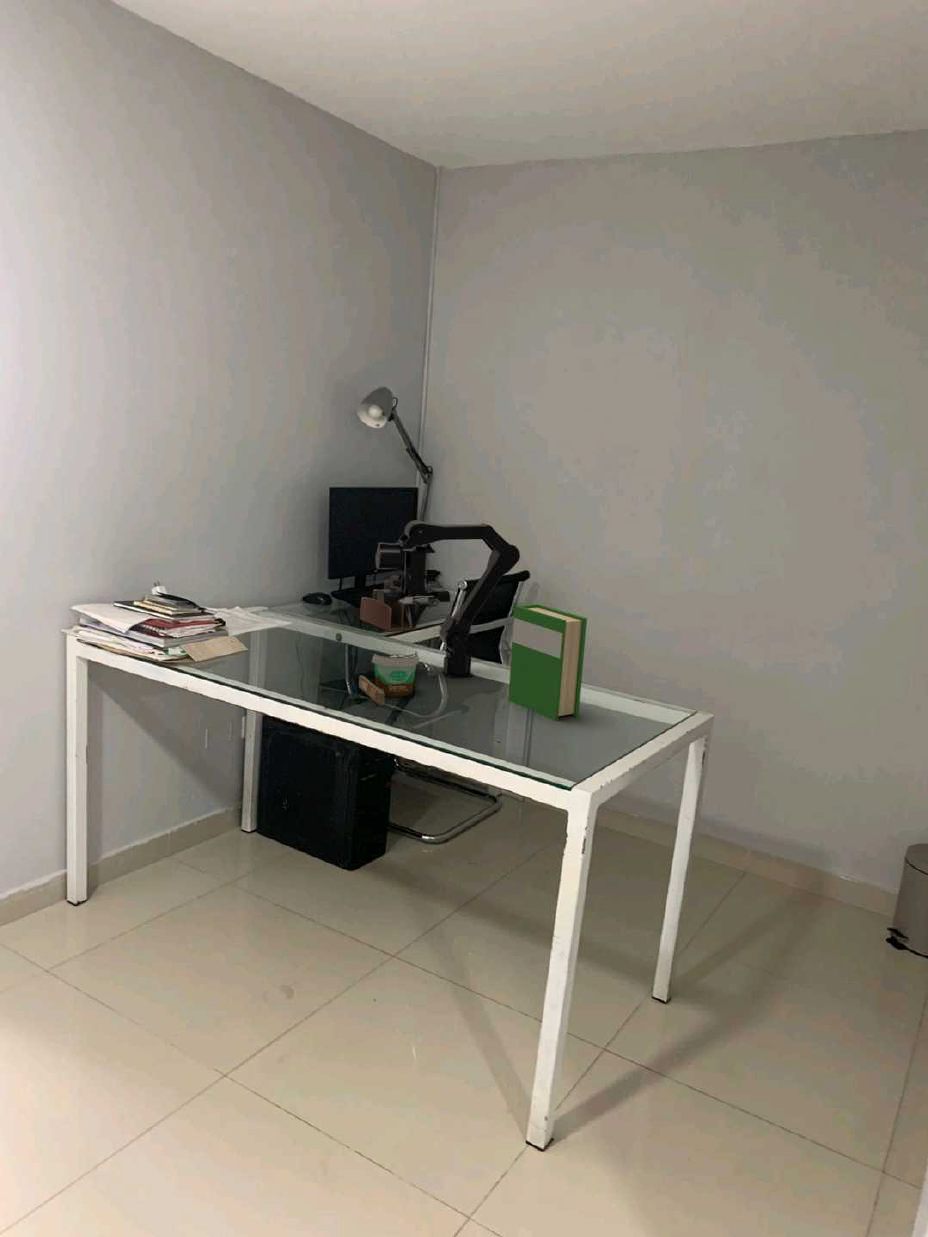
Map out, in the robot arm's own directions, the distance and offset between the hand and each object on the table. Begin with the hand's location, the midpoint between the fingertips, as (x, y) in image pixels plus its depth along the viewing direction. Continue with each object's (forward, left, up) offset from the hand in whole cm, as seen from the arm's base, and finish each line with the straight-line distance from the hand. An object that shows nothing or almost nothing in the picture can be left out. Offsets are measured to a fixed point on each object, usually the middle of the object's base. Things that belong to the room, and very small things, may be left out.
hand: (412, 627), depth 246 cm
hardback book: (-21, +35, -13) cm, 43 cm away
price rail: (+17, +16, -13) cm, 26 cm away
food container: (+9, +16, -13) cm, 23 cm away
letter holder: (-15, -60, -13) cm, 63 cm away
